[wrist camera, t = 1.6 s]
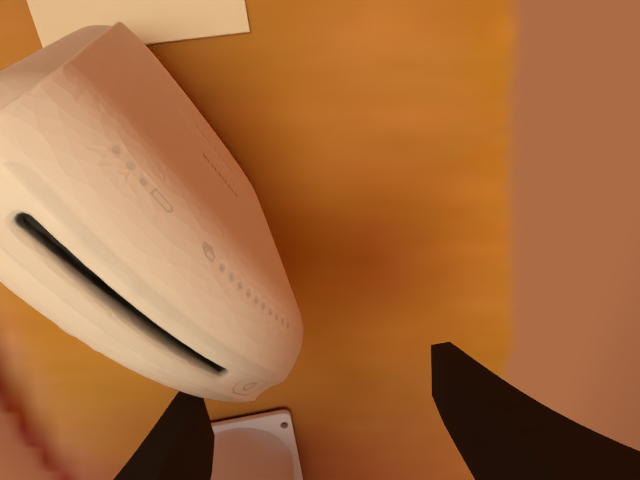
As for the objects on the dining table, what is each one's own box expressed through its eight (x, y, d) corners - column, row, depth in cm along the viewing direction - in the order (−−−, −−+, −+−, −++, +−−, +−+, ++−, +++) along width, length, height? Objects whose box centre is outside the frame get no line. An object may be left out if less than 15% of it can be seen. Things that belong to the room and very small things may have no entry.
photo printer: (267, 196, 21) (347, 389, 11) (202, 238, 21) (221, 466, 11) (122, -1, 14) (-3, 32, 5) (30, 62, 15) (-276, 223, 5)
